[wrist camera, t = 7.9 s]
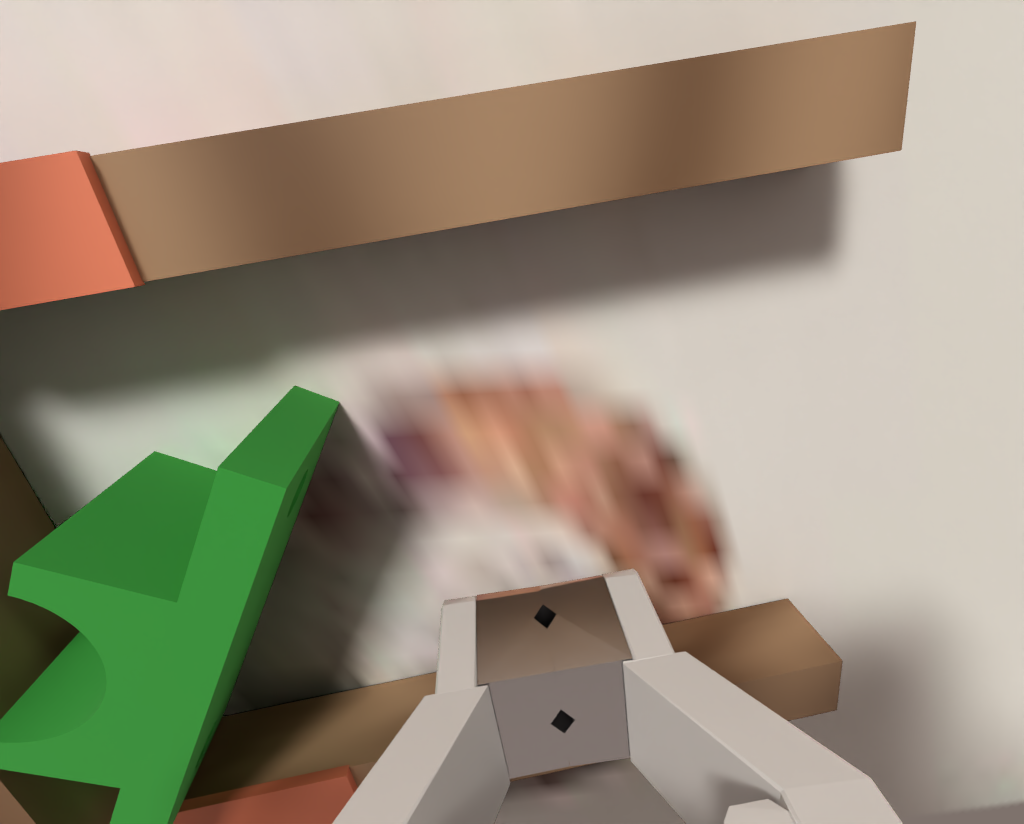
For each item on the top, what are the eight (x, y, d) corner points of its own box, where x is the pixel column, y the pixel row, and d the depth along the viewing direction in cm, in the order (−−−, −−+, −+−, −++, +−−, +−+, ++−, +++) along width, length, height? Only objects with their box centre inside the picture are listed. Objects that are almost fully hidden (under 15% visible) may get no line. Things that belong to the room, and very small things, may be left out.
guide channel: (818, 60, 11) (1005, -22, 7) (785, 645, 17) (875, 762, 14) (-233, 234, 10) (-637, 242, 6) (137, 782, 16) (43, 948, 13)
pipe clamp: (186, 341, 12) (39, 408, 8) (341, 398, 13) (289, 485, 9) (96, 681, 15) (-45, 864, 11) (226, 708, 16) (145, 886, 12)
